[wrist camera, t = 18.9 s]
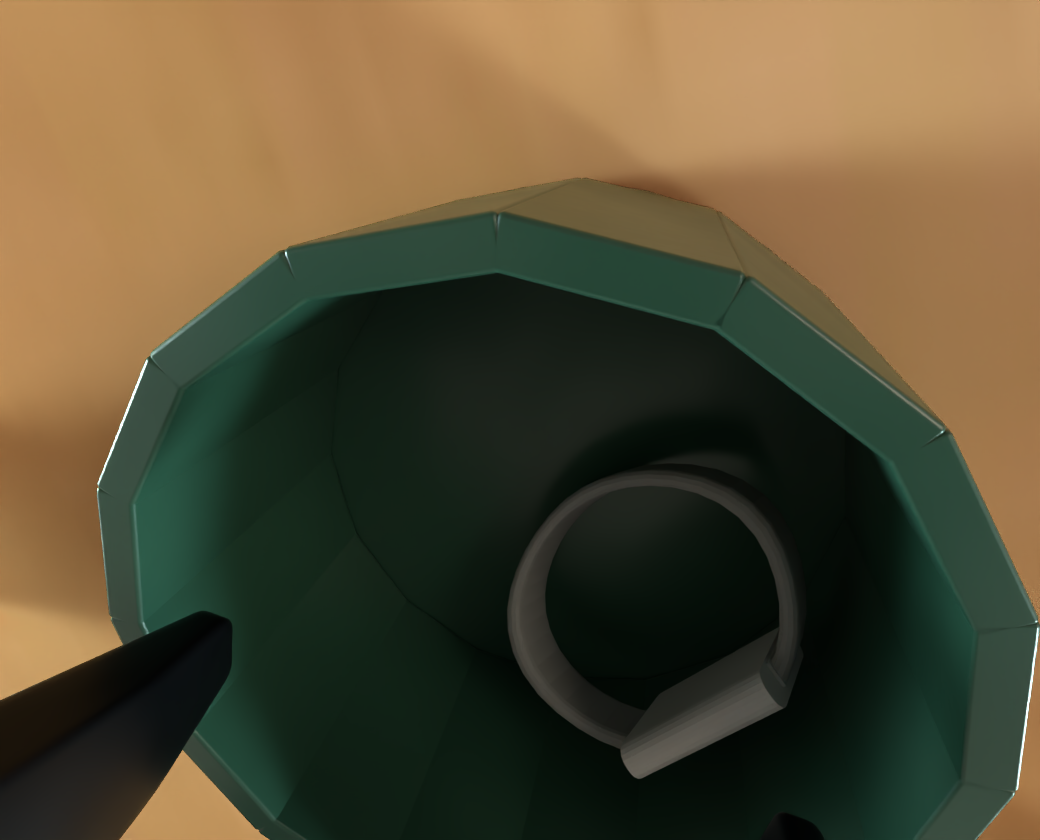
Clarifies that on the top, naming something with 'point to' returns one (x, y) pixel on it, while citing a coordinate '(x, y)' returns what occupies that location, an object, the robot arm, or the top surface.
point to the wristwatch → (705, 695)
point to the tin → (585, 547)
